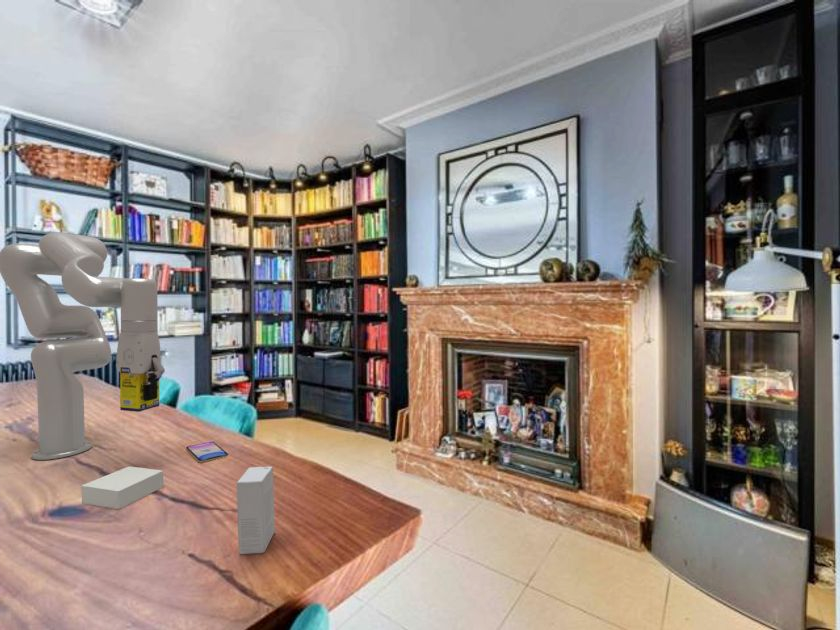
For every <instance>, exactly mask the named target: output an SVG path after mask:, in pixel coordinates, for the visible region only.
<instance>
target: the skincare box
mask: <svg viewBox="0 0 840 630" xmlns="http://www.w3.org/2000/svg"><path fill="white" fill-rule="evenodd" d="M274 492H275V490H274V467H273V466H253V467H251V466H250V467H248V468H247V470H246V471H245V472H244V473H243V475H241V477H240V478H239V480H238V481H237V482H236V504H237V506H236V508H237V509H236V510H237V538H238V555H249V554H264V553H265V552H266V551H267V548H268V546H269V544H270V542H271V539H272V538H273V536H274V533H275V500H274V499H275V498H274Z"/></svg>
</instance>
